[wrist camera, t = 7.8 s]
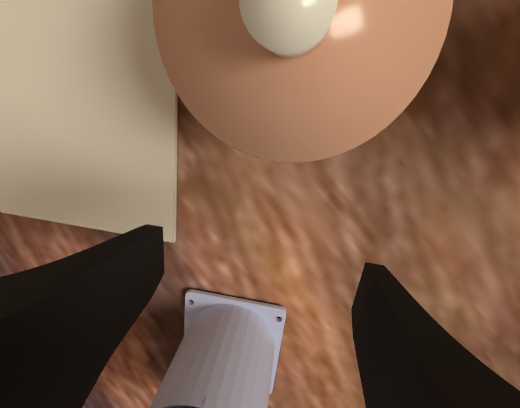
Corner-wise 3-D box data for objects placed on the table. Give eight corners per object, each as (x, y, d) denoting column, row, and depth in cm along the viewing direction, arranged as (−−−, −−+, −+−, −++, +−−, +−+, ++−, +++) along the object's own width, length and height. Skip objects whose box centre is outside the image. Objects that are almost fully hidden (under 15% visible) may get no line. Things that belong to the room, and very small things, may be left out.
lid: (396, 176, 13) (427, 211, 9) (159, 139, 14) (111, 159, 10) (499, -161, 9) (612, -301, 6) (159, -183, 10) (83, -316, 6)
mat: (176, 240, 24) (173, 242, 23) (5, 210, 25) (0, 212, 25) (179, -12, 18) (176, -14, 17) (-49, -35, 19) (-56, -38, 18)
